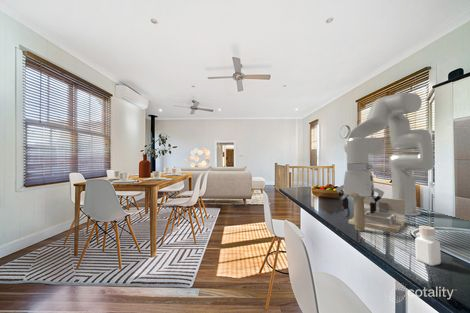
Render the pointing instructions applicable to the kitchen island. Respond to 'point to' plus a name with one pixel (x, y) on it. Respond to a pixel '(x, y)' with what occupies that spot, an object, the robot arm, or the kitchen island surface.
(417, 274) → the kitchen island surface
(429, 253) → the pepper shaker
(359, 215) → the handle
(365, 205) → the hinge stand
